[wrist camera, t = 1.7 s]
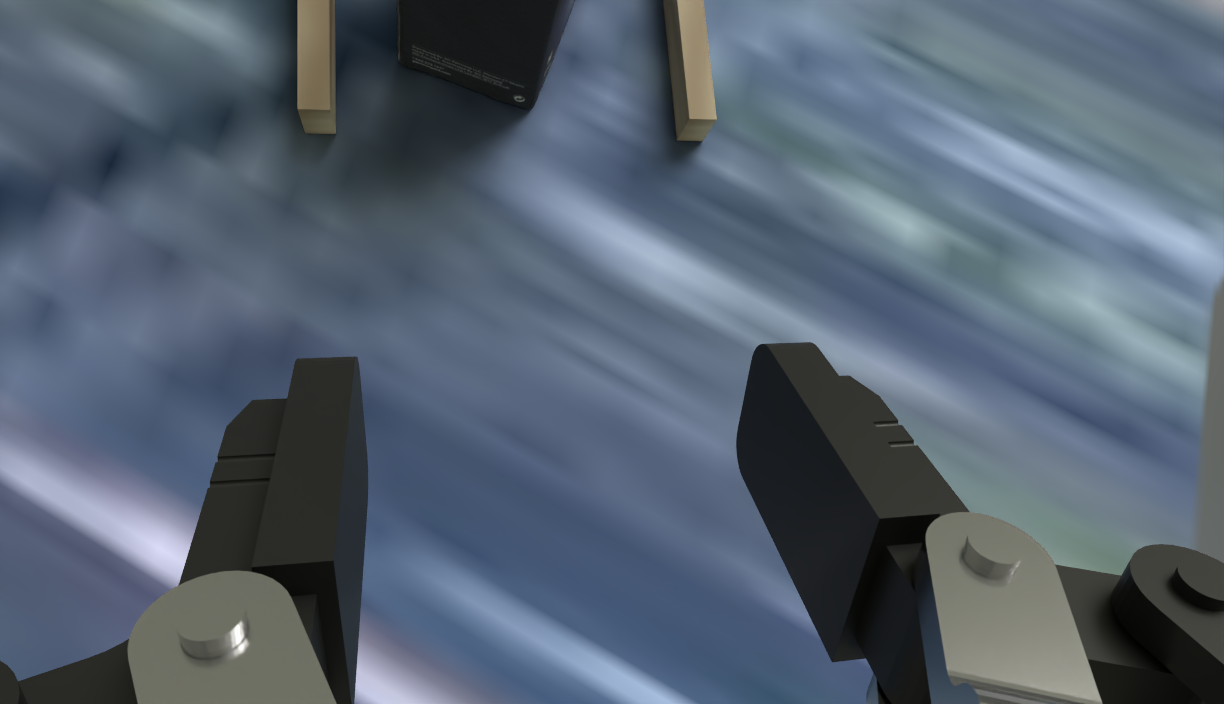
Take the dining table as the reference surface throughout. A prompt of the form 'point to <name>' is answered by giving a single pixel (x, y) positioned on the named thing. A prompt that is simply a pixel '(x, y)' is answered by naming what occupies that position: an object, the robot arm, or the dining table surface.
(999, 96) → the dining table surface
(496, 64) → the small box
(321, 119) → the trap course
